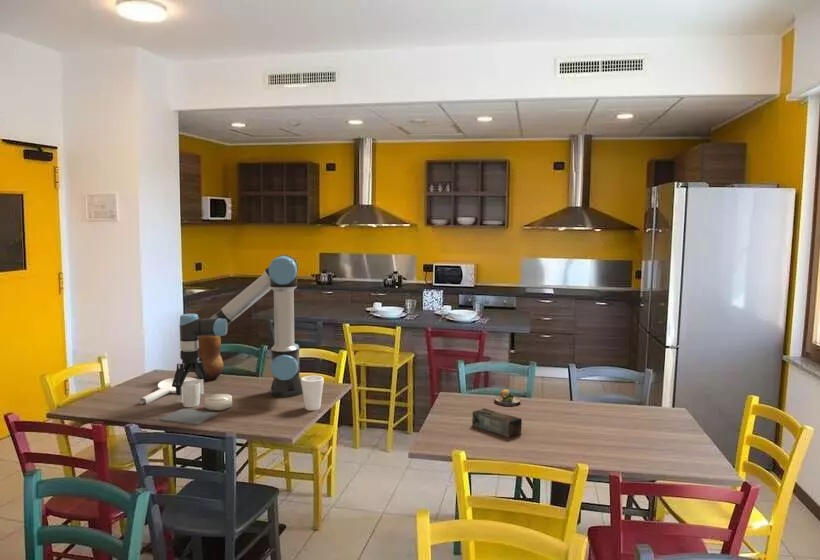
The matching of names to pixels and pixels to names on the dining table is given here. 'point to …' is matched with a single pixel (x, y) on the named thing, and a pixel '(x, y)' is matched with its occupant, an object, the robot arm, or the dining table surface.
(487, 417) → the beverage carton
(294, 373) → the robot arm
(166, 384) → the frying pan
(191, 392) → the white cup
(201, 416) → the mat
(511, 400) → the plate of food
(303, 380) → the foam cup
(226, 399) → the bowl
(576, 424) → the dining table surface
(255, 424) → the dining table surface
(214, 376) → the butternut squash
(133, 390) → the dining table surface
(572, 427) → the dining table surface
